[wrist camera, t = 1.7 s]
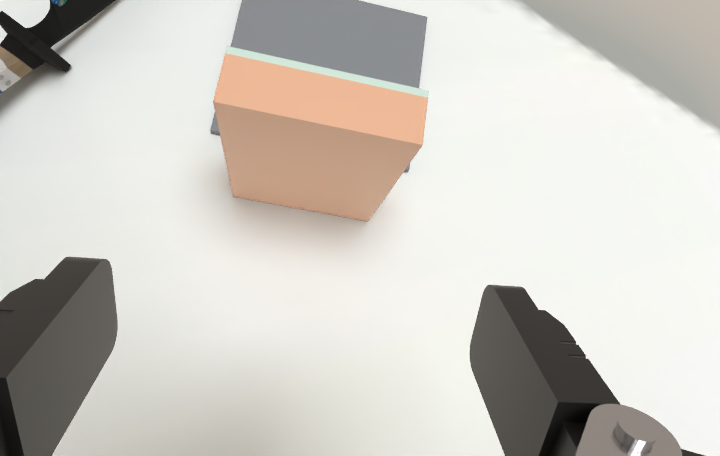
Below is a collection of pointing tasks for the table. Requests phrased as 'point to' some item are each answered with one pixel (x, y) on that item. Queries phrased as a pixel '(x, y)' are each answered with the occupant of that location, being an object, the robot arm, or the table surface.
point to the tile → (314, 133)
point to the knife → (41, 38)
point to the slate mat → (335, 37)
